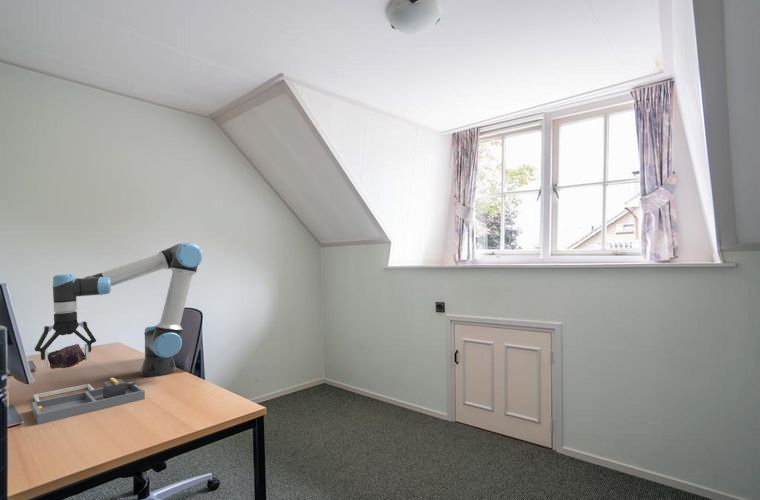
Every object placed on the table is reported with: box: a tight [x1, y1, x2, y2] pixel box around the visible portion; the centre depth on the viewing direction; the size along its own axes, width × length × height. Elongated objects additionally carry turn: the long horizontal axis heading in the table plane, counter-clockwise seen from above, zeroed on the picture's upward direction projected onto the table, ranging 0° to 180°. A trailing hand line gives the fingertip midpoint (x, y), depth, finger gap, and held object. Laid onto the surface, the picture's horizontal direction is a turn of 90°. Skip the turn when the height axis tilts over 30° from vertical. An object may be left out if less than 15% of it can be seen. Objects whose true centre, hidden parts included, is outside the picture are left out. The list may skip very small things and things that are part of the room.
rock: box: [48, 343, 86, 370], centre depth 166 cm, size 12×9×10 cm
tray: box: [33, 383, 95, 402], centre depth 166 cm, size 19×17×2 cm
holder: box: [31, 377, 146, 425], centre depth 157 cm, size 33×17×8 cm, turn 136°
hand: (67, 363), depth 166 cm, fingers closed on rock, 13 cm apart
